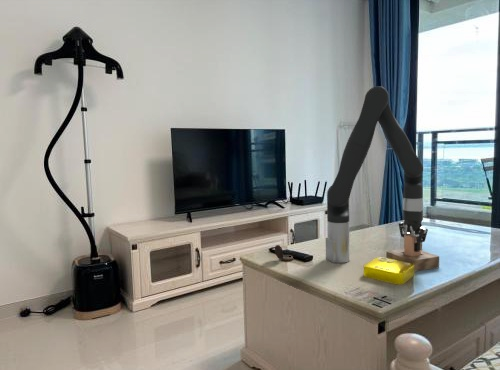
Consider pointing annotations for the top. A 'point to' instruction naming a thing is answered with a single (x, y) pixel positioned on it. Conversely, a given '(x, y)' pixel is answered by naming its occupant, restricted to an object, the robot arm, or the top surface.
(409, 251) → the terracotta peg
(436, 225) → the top surface
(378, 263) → the element tile
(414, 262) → the walnut base
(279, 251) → the compass
